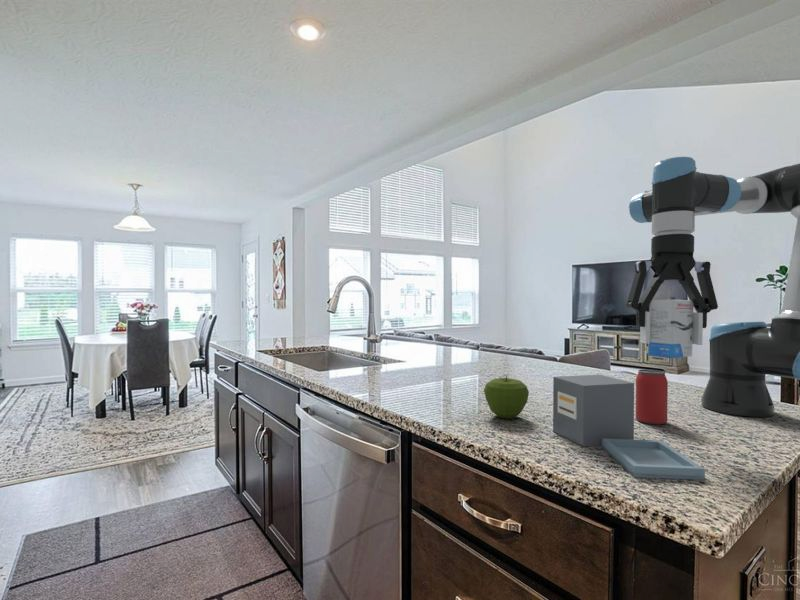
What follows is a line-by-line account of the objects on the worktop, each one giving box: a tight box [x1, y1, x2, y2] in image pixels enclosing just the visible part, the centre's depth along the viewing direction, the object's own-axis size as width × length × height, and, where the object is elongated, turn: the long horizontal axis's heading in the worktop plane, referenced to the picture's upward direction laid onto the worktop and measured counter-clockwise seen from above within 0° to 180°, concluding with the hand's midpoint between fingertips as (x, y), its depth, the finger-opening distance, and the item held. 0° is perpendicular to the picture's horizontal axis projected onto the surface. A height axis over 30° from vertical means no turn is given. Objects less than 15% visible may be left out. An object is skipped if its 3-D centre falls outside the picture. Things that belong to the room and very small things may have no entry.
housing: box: [552, 374, 635, 447], centre depth 92 cm, size 13×10×12 cm
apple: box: [483, 376, 530, 420], centre depth 106 cm, size 11×10×10 cm
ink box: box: [647, 284, 694, 359], centre depth 89 cm, size 8×5×15 cm, turn 123°
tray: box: [601, 438, 706, 481], centre depth 77 cm, size 11×14×2 cm
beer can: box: [635, 368, 669, 426], centre depth 103 cm, size 7×7×12 cm
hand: (670, 343), depth 89 cm, fingers closed on ink box, 9 cm apart
